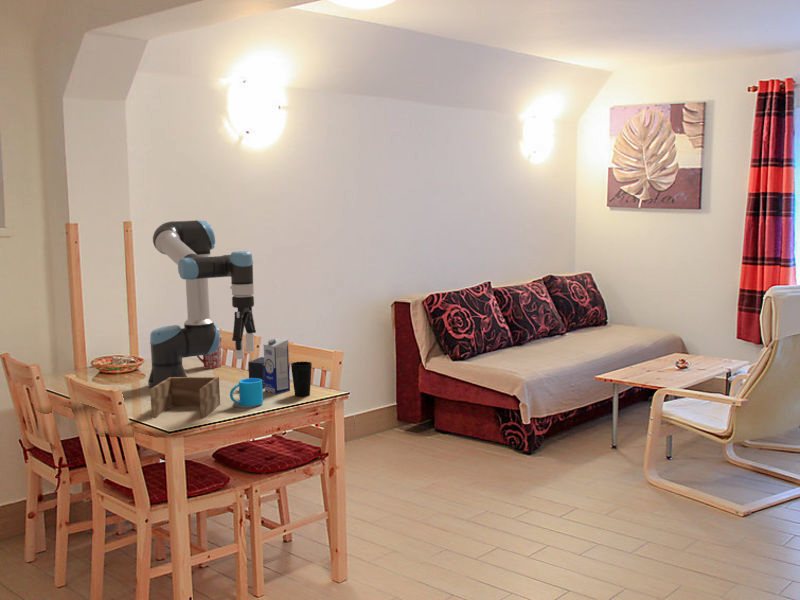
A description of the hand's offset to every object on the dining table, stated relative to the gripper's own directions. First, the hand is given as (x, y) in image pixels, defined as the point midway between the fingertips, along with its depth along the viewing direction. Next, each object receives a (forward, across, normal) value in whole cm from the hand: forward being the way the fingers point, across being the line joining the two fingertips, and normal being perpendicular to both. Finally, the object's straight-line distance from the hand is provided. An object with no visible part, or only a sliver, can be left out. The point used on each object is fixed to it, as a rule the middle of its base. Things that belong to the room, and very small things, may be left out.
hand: (245, 355), depth 284 cm
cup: (+18, -14, +17) cm, 29 cm away
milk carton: (+18, -20, +6) cm, 28 cm away
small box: (+19, -28, -2) cm, 34 cm away
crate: (+18, +10, -19) cm, 28 cm away
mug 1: (+19, -64, -35) cm, 75 cm away
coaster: (+18, 0, 0) cm, 18 cm away
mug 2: (+18, +2, 0) cm, 18 cm away
